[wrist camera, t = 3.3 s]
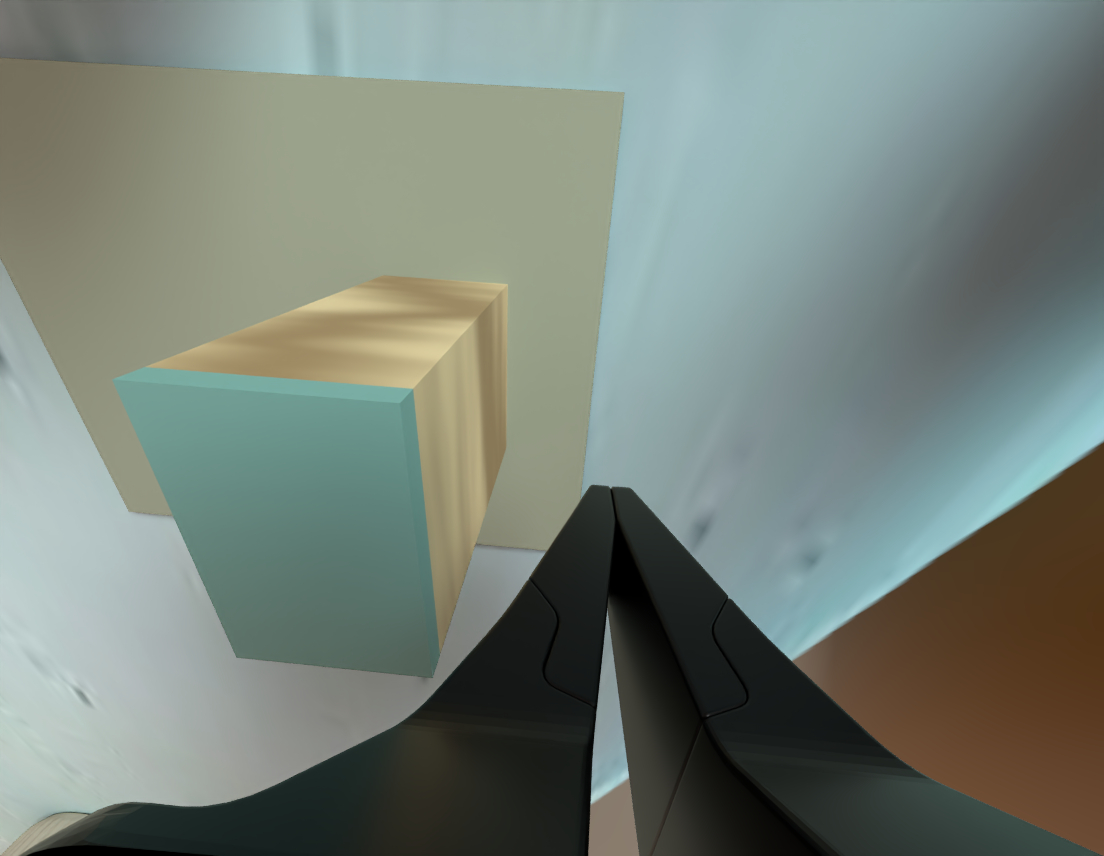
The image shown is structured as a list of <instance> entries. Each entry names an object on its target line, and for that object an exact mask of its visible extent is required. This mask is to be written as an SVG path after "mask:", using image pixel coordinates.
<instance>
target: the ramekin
mask: <svg viewBox="0 0 1104 856" xmlns="http://www.w3.org/2000/svg"><path fill="white" fill-rule="evenodd" d="M88 815H89V814H82V813H59V814H55V815H52V816H50V817H48V818H46V819H44V820H42V821H40V822H38V823H36V824H35V825H33V826H32V827H30V828H29V829H28V830H27V831H25V832H24V833H23V834H22V835H21V836H20V837H19V838H18V839H17V840H16V841H15V842H14V843H13V844H12V845H11V846H10V847H9V848H8V849H7V850H6V851H5V852H4V853H3V854H2V855H1V856H19V855H20V854H22V853H24V852H25V851H27V850H28V849H30V848H31V847H33V846H34V845H36V844H37V843H39V842H41V841H43V840H44V839H46V838H48V837H50V836H51V835H53V834H55V833H57V832H58V831H60V830H62V829H64V828H66V827H68V826H69V825H71V824H73V823H75V822H77V821H79V820H80V819H82V818H84V817H86V816H88Z"/></svg>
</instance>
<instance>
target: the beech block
mask: <svg viewBox="0 0 1104 856" xmlns="http://www.w3.org/2000/svg"><path fill="white" fill-rule="evenodd" d="M507 314H508V284H497V283H483V282H470V281H456V280H442V279H428V278H414V277H400V276H386V275H383V276H380V277H377V278H375V279H372V280H370V281H367V282H364V283H362V284H359V285H357V286H354V287H351V288H349V289H346V290H344V291H341V292H338V293H336V294H333V295H331V296H328V297H325V298H323V299H320V300H318V301H315V302H312V303H310V304H307V305H305V306H302V307H299V308H297V309H294V310H292V311H289V312H286V313H284V314H281V315H279V316H276V317H273V318H271V319H268V320H266V321H263V322H260V323H258V324H255V325H253V326H250V327H247V328H245V329H242V330H240V331H237V332H234V333H232V334H229V335H227V336H224V337H221V338H219V339H216V340H214V341H211V342H208V343H206V344H203V345H201V346H198V347H195V348H193V349H190V350H188V351H185V352H182V353H180V354H177V355H175V356H172V357H169V358H167V359H164V360H162V361H159V362H156V363H154V364H151V365H149V366H146V367H143V368H141V369H138V370H136V371H133V372H130V373H128V374H125V375H123V376H120V377H117V378H115V379H112V381H113V383H114V385H115V388H116V390H117V392H118V394H119V396H120V399H121V401H122V403H123V405H124V408H125V410H126V412H127V414H128V417H129V419H130V421H131V423H132V425H133V428H134V430H135V432H136V434H137V437H138V439H139V441H140V443H141V445H142V448H143V450H144V452H145V454H146V457H147V459H148V461H149V463H150V466H151V468H152V470H153V472H154V474H155V477H156V479H157V481H158V483H159V486H160V488H161V490H162V492H163V495H164V497H165V499H166V501H167V503H168V506H169V508H170V510H171V512H172V515H173V517H174V519H175V521H176V523H177V526H178V528H179V530H180V532H181V535H182V537H183V539H184V541H185V544H186V546H187V548H188V550H189V552H190V555H191V557H192V559H193V561H194V564H195V566H196V568H197V570H198V572H199V575H200V577H201V579H202V581H203V584H204V586H205V588H206V590H207V593H208V595H209V597H210V599H211V601H212V604H213V606H214V608H215V610H216V613H217V615H218V617H219V619H220V621H221V624H222V626H223V628H224V630H225V633H226V635H227V637H228V639H229V642H230V644H231V646H232V648H233V650H234V653H235V655H236V657H237V658H246V659H256V660H265V661H275V662H285V663H294V664H304V665H313V666H323V667H332V668H342V669H351V670H361V671H371V672H380V673H390V674H399V675H409V676H418V677H428V678H433V675H434V672H435V669H436V666H437V663H438V659H439V656H440V653H441V650H442V647H443V644H444V641H445V638H446V635H447V631H448V628H449V625H450V622H451V619H452V616H453V613H454V610H455V606H456V603H457V600H458V597H459V594H460V591H461V588H462V585H463V581H464V578H465V575H466V572H467V569H468V566H469V563H470V560H471V557H472V553H473V550H474V547H475V544H476V541H477V538H478V535H479V532H480V528H481V525H482V522H483V519H484V516H485V513H486V510H487V507H488V504H489V500H490V497H491V494H492V491H493V488H494V485H495V482H496V479H497V475H498V472H499V469H500V466H501V463H502V460H503V457H504V454H505V450H506V433H507Z"/></svg>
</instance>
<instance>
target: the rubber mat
mask: <svg viewBox="0 0 1104 856" xmlns="http://www.w3.org/2000/svg"><path fill="white" fill-rule="evenodd" d="M623 101H624V92H608V91H590V90H572V89H554V88H536V87H518V86H500V85H482V84H463V83H445V82H427V81H409V80H391V79H373V78H355V77H337V76H319V75H301V74H283V73H265V72H247V71H229V70H211V69H193V68H175V67H157V66H139V65H121V64H103V63H85V62H67V61H49V60H31V59H13V58H0V258H1V260H2V262H3V264H4V266H5V268H6V270H7V272H8V274H9V276H10V278H11V280H12V282H13V284H14V286H15V288H16V290H17V292H18V294H19V296H20V298H21V300H22V301H23V303H24V305H25V307H26V309H27V311H28V313H29V315H30V317H31V319H32V321H33V323H34V325H35V327H36V329H37V331H38V333H39V335H40V337H41V339H42V341H43V343H44V345H45V347H46V349H47V351H48V353H49V355H50V357H51V359H52V361H53V363H54V365H55V367H56V369H57V371H58V373H59V375H60V377H61V378H62V380H63V382H64V384H65V386H66V388H67V390H68V392H69V394H70V396H71V398H72V400H73V402H74V404H75V406H76V408H77V410H78V412H79V414H80V416H81V418H82V420H83V422H84V424H85V426H86V428H87V430H88V432H89V434H90V436H91V438H92V440H93V442H94V444H95V446H96V448H97V450H98V452H99V453H100V455H101V457H102V459H103V461H104V463H105V465H106V467H107V469H108V471H109V473H110V475H111V477H112V479H113V481H114V483H115V485H116V487H117V489H118V491H119V493H120V495H121V497H122V499H123V501H124V503H125V505H126V507H127V509H128V511H129V512H139V513H149V514H160V515H171V516H173V515H172V512H171V510H170V508H169V506H168V503H167V501H166V499H165V497H164V495H163V492H162V490H161V488H160V486H159V483H158V481H157V479H156V477H155V474H154V472H153V470H152V468H151V466H150V463H149V461H148V459H147V457H146V454H145V452H144V450H143V448H142V445H141V443H140V441H139V439H138V437H137V434H136V432H135V430H134V428H133V425H132V423H131V421H130V419H129V417H128V414H127V412H126V410H125V408H124V405H123V403H122V401H121V399H120V396H119V394H118V392H117V390H116V388H115V385H114V383H113V381H112V379H115V378H117V377H120V376H123V375H125V374H128V373H130V372H133V371H136V370H138V369H141V368H143V367H146V366H149V365H151V364H154V363H156V362H159V361H162V360H164V359H167V358H169V357H172V356H175V355H177V354H180V353H182V352H185V351H188V350H190V349H193V348H195V347H198V346H201V345H203V344H206V343H208V342H211V341H214V340H216V339H219V338H221V337H224V336H227V335H229V334H232V333H234V332H237V331H240V330H242V329H245V328H247V327H250V326H253V325H255V324H258V323H260V322H263V321H266V320H268V319H271V318H273V317H276V316H279V315H281V314H284V313H286V312H289V311H292V310H294V309H297V308H299V307H302V306H305V305H307V304H310V303H312V302H315V301H318V300H320V299H323V298H325V297H328V296H331V295H333V294H336V293H338V292H341V291H344V290H346V289H349V288H351V287H354V286H357V285H359V284H362V283H364V282H367V281H370V280H372V279H375V278H377V277H380V276H383V275H386V276H400V277H414V278H428V279H442V280H456V281H470V282H483V283H497V284H508V314H507V433H506V450H505V454H504V457H503V460H502V463H501V466H500V469H499V472H498V475H497V479H496V482H495V485H494V488H493V491H492V494H491V497H490V500H489V504H488V507H487V510H486V513H485V516H484V519H483V522H482V525H481V528H480V532H479V535H478V538H477V541H476V544H482V545H492V546H503V547H514V548H525V549H535V550H546V551H547V550H548V549H549V547H550V546H551V544H552V543H553V541H554V539H555V538H556V536H557V535H558V533H559V532H560V530H561V529H562V527H563V526H564V524H565V523H566V521H567V520H568V518H569V517H570V515H571V514H572V512H573V511H574V509H575V508H576V506H577V505H578V503H579V502H580V498H581V489H582V479H583V470H584V461H585V452H586V443H587V433H588V424H589V415H590V406H591V396H592V387H593V378H594V369H595V360H596V350H597V341H598V332H599V323H600V313H601V304H602V295H603V286H604V277H605V267H606V258H607V249H608V240H609V230H610V221H611V212H612V203H613V193H614V184H615V175H616V166H617V157H618V147H619V138H620V129H621V120H622V110H623Z"/></svg>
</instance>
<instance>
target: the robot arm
mask: <svg viewBox="0 0 1104 856" xmlns="http://www.w3.org/2000/svg"><path fill="white" fill-rule="evenodd" d="M607 608H608V616H609V624H610V632H611V639H612V647H613V655H614V663H615V670H616V678H617V686H618V694H619V701H620V709H621V717H622V725H623V732H624V740H625V748H626V756H627V763H628V771H629V779H630V787H631V794H632V802H633V810H634V818H635V825H636V833H637V840H638V849H639V856H1102V855H1100V854H1098V853H1096V852H1093V851H1091V850H1089V849H1087V848H1084V847H1082V846H1080V845H1078V844H1075V843H1073V842H1071V841H1069V840H1066V839H1064V838H1062V837H1060V836H1057V835H1055V834H1053V833H1051V832H1048V831H1046V830H1044V829H1042V828H1039V827H1037V826H1035V825H1033V824H1030V823H1028V822H1026V821H1024V820H1021V819H1019V818H1017V817H1015V816H1012V815H1010V814H1008V813H1006V812H1003V811H1001V810H999V809H997V808H994V807H992V806H990V805H988V804H985V803H983V802H981V801H979V800H977V799H974V798H972V797H970V796H967V795H965V794H963V793H961V792H958V791H956V790H954V789H952V788H950V787H947V786H945V785H943V784H941V783H939V782H937V781H935V780H933V779H931V778H929V777H927V776H925V775H924V774H922V773H920V772H918V771H917V770H915V769H914V768H912V767H911V766H909V765H908V764H906V763H905V762H903V761H902V760H900V759H899V758H898V757H896V756H895V755H894V754H892V753H891V752H890V751H889V750H887V749H886V748H885V747H884V746H883V745H881V744H880V743H879V742H878V741H877V740H876V739H875V738H873V737H872V736H871V735H870V734H869V733H868V732H867V731H866V730H865V729H864V728H862V726H860V725H859V724H858V723H857V722H856V721H855V720H854V719H853V718H852V717H851V716H850V715H848V714H847V713H846V712H845V711H844V710H843V709H842V708H841V707H840V706H839V705H838V704H837V703H836V702H835V701H833V699H831V698H830V697H829V696H828V695H827V694H826V693H825V692H824V691H823V690H822V689H821V688H820V687H819V686H817V685H816V684H815V683H814V682H813V681H812V680H811V679H810V678H809V677H808V676H807V675H806V674H805V673H803V672H802V671H801V670H800V669H799V668H798V667H797V666H796V665H795V664H794V663H793V662H792V661H791V660H790V659H789V658H788V657H787V656H786V655H785V654H784V653H783V652H782V651H780V650H779V649H778V648H777V647H776V646H775V645H774V644H773V643H772V642H771V641H770V640H769V639H768V638H767V637H766V636H765V635H764V634H763V633H762V632H761V631H760V629H759V628H758V627H757V626H756V625H755V624H754V623H753V622H752V621H751V620H750V619H749V618H748V617H747V616H746V615H745V614H744V613H743V611H742V610H741V609H740V608H739V607H738V606H737V605H736V604H735V603H734V601H733V600H732V599H728V595H727V594H726V593H725V592H724V591H723V590H722V588H721V587H720V586H719V585H718V584H717V583H716V582H715V581H714V580H713V578H712V577H711V576H710V575H709V574H708V573H707V572H706V571H705V570H704V568H703V567H702V566H701V565H700V564H699V563H698V562H697V561H696V560H695V558H694V557H693V556H692V555H691V554H690V553H689V552H688V551H687V550H686V549H685V547H684V546H683V545H682V544H681V543H680V542H679V541H678V540H677V539H676V537H675V536H674V535H673V534H672V533H671V532H670V531H669V530H668V529H667V527H666V526H665V525H664V524H663V523H662V522H661V521H660V520H659V519H658V517H657V516H656V515H655V514H654V513H653V512H652V511H651V510H650V509H649V508H648V506H647V505H646V504H645V503H644V502H643V501H642V500H641V499H640V498H639V496H638V495H637V494H636V493H635V492H634V491H633V490H632V489H631V488H626V487H612V488H611V489H610V487H609V486H602V485H591V486H590V487H589V488H588V490H587V491H586V493H585V494H584V496H583V497H582V499H581V500H580V502H579V503H578V505H577V506H576V508H575V509H574V511H573V512H572V514H571V515H570V517H569V518H568V520H567V521H566V523H565V524H564V526H563V527H562V529H561V530H560V532H559V533H558V535H557V536H556V538H555V539H554V541H553V543H552V544H551V546H550V547H549V549H548V550H547V552H546V553H545V555H544V556H543V558H542V559H541V561H540V562H539V564H538V565H537V567H536V568H535V570H534V571H533V573H532V574H531V576H530V577H529V580H528V581H526V583H525V584H524V586H523V587H522V589H521V590H520V592H519V593H518V595H517V596H516V598H515V599H514V600H513V602H512V603H511V605H510V606H509V607H508V609H507V610H506V611H505V613H504V614H503V615H502V617H501V618H500V619H499V620H498V621H497V623H496V624H495V625H494V626H493V627H492V628H491V630H490V631H489V632H488V633H487V634H486V636H485V637H484V638H483V639H482V640H481V641H480V642H479V643H478V645H477V646H476V647H475V648H474V649H473V650H472V651H471V652H470V653H469V655H468V656H467V657H466V658H465V659H464V660H463V661H462V662H461V664H460V665H459V666H458V667H457V668H456V669H455V670H454V671H453V672H452V674H451V675H450V676H449V677H448V678H447V679H446V680H445V681H444V682H443V684H442V685H441V686H440V687H439V688H438V689H437V690H436V691H435V692H434V694H433V695H432V696H431V697H430V698H429V699H428V700H427V701H426V702H425V703H424V704H423V705H422V706H421V707H420V708H419V709H418V710H416V711H415V712H414V713H413V714H411V715H410V716H409V717H408V718H406V719H405V720H404V721H402V722H401V723H399V724H398V725H396V726H394V727H392V728H391V729H389V730H387V731H384V732H382V733H380V734H378V735H376V736H374V737H372V738H370V739H368V740H366V741H364V742H362V743H360V744H358V745H356V746H354V747H352V748H350V749H348V750H346V751H344V752H342V753H340V754H338V755H336V756H334V757H332V758H330V759H328V760H326V761H323V762H321V763H319V764H317V765H315V766H313V767H311V768H309V769H307V770H305V771H303V772H301V773H299V774H297V775H295V776H293V777H291V778H289V779H287V780H285V781H283V782H281V783H279V784H277V785H275V786H272V787H270V788H268V789H265V790H263V791H261V792H258V793H256V794H253V795H251V796H248V797H244V798H241V799H237V800H234V801H231V802H227V803H221V804H215V805H209V806H203V807H182V806H173V805H164V804H155V803H140V802H129V803H120V804H114V805H111V806H108V807H105V808H102V809H100V810H97V811H95V812H93V813H92V814H90V815H88V816H86V817H84V818H82V819H80V820H79V821H77V822H75V823H73V824H71V825H69V826H68V827H66V828H64V829H62V830H60V831H58V832H57V833H55V834H53V835H51V836H50V837H48V838H46V839H44V840H43V841H41V842H39V843H37V844H36V845H34V846H33V847H31V848H30V849H28V850H27V851H25V852H24V853H22V854H20V855H19V856H588V846H589V824H590V802H591V779H592V758H593V744H594V732H595V722H596V711H597V703H598V693H599V683H600V674H601V664H602V655H603V645H604V635H605V626H606V616H607Z"/></svg>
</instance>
